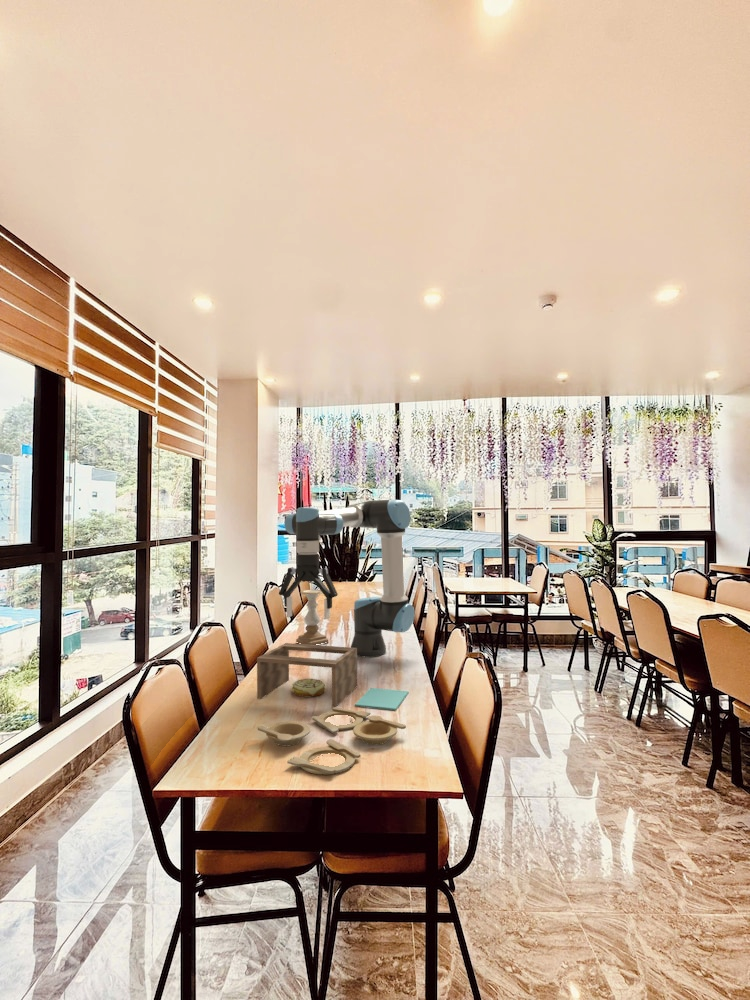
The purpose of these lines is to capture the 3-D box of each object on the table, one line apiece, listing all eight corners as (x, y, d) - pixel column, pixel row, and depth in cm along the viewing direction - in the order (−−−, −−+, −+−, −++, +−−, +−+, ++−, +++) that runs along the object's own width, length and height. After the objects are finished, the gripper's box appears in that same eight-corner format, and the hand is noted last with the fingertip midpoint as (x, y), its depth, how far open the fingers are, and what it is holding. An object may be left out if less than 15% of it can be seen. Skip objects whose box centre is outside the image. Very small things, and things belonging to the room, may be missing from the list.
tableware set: (319, 787, 113) (319, 768, 113) (243, 747, 133) (243, 731, 133) (419, 735, 139) (419, 720, 139) (343, 709, 159) (343, 695, 159)
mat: (370, 689, 175) (370, 687, 175) (408, 693, 171) (408, 691, 171) (354, 706, 160) (354, 704, 160) (396, 710, 156) (395, 708, 156)
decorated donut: (316, 700, 166) (316, 688, 166) (286, 696, 170) (286, 684, 170) (330, 689, 176) (329, 678, 176) (301, 686, 179) (301, 675, 180)
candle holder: (295, 643, 240) (295, 591, 241) (314, 639, 248) (314, 588, 248) (309, 647, 232) (309, 593, 233) (329, 643, 240) (328, 590, 240)
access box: (285, 679, 186) (285, 643, 187) (357, 686, 178) (356, 647, 179) (257, 698, 167) (257, 657, 168) (335, 706, 159) (335, 663, 160)
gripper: (268, 553, 174) (268, 617, 174) (338, 554, 167) (339, 621, 166) (279, 552, 181) (279, 613, 181) (346, 553, 174) (347, 617, 173)
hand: (308, 617), depth 173 cm, fingers open, 13 cm apart
